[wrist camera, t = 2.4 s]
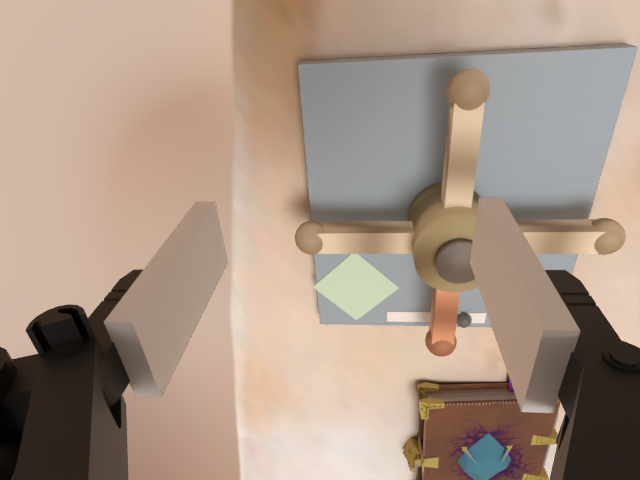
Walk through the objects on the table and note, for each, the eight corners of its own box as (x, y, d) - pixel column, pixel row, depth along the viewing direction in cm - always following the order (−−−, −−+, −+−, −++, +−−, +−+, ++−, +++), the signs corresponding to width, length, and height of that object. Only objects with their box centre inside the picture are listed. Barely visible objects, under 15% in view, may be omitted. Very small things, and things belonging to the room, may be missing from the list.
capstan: (285, 68, 30) (266, 91, 24) (653, 50, 27) (728, 70, 22) (311, 324, 42) (302, 379, 37) (567, 329, 40) (600, 389, 34)
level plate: (295, 61, 32) (290, 67, 29) (626, 43, 29) (647, 49, 27) (317, 313, 44) (315, 331, 42) (550, 317, 41) (560, 336, 39)
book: (562, 341, 44) (585, 380, 40) (527, 479, 57) (542, 520, 53) (401, 348, 46) (407, 386, 42) (402, 481, 59) (406, 521, 54)
